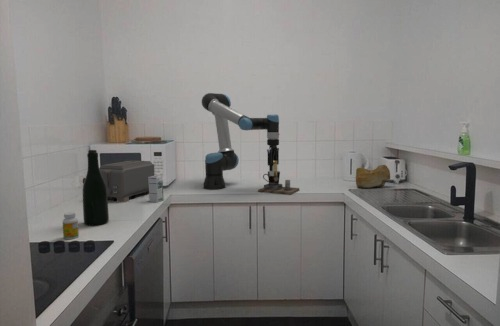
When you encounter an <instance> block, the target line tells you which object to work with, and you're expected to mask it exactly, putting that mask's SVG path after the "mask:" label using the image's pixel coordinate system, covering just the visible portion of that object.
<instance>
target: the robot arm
mask: <svg viewBox="0 0 500 326" xmlns="http://www.w3.org/2000/svg"><path fill="white" fill-rule="evenodd" d="M201 105H202V107H203V109H204V110H206V111H208V112H210V113H211V114H212V115H213V116H214V118H215V119H214V121H215V127H216V134H217V140H218V141H217V142H218V148H219V150H218V151H217V152H211V153H210V152H209V153H208V154H206V155H205V156H204V157H205V159H204V162H205V163H204V164H205V166H204V167H205V178H204V181H203V184H202V187H203V189H205V190H222V189H225V188H226V181H225V178H224V171H230V170H233V169H236V168H237V166H238V165H239V156H238V155H237V153H235V149H234V148H233V147H232V142H231V133H230V128H229V122H231V123H233V124H234V125H237V126H238V127H239V129H240V130H242V131H254V130H255V131H258V130H259V131H260V130H265V131H266V138H267V140H266V144H267V146H269V148H268V149H266V152H267V167H268V166H269V167H268V168H269V170H268V171H269V176H274V166H273V160H277V161H278V163H277V165H279V164H280V163H279V162H280V161H279V160H280V158H279V153H280V152H279V151H280V148H279V147H278V146H279V145H280V132H279V131H280V126H279V124H280V119H279V118H280V116H279V115H278V114H267V116H266V117H249V116H247V115H245V114H244V113H241V112H240V111H238V110H236V109H233V108H231V105H232V104H231V98H230V97H229V96H227V94H226V93H225V94H224V93H215V92H214V93H212V92H208V93H205V94H204V95H203V96H202V99H201Z"/></svg>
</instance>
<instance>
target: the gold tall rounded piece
mask: <svg viewBox="0 0 500 326" xmlns="http://www.w3.org/2000/svg"><path fill="white" fill-rule="evenodd" d="M277 163H278V161H277V160H273V166H274V176H270V177H276V176H277V171H278V164H277Z"/></svg>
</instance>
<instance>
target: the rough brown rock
mask: <svg viewBox="0 0 500 326" xmlns="http://www.w3.org/2000/svg"><path fill="white" fill-rule="evenodd" d="M389 180H391V171H390V168H389V167H388V166H387V165H386V164H381V165H378V166H377V167H376V168H374V169H371V170H369V169H367V168H365V167H357V168H356V170H355V184H356V186H357V188H360V189H364V188H366V189H370V188H371V189H372V188H374V187H377V188H384V186H385V184H386V183H387V182H388V181H389Z"/></svg>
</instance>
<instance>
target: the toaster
mask: <svg viewBox="0 0 500 326" xmlns="http://www.w3.org/2000/svg"><path fill="white" fill-rule="evenodd" d="M99 170H100V173H101V175H102V177H103V180H104V182H105V184H106V189H107V199H108V201H109V200H111V198H116V202H117V203H127V202H130V197H133V196H136V195H140V194H143V193H146V194H149V181H148V177H151V176H155V164H154V163H152V162H151V161H150V160H127V161H121V162H120V161H119V162H115V163H106V164H102V165H101V166H99Z"/></svg>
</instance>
